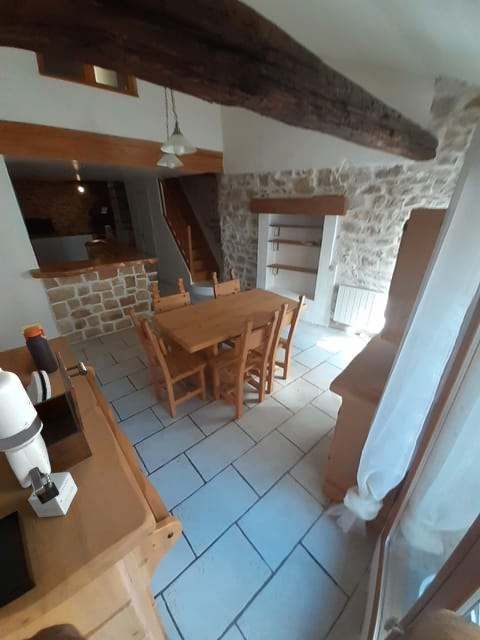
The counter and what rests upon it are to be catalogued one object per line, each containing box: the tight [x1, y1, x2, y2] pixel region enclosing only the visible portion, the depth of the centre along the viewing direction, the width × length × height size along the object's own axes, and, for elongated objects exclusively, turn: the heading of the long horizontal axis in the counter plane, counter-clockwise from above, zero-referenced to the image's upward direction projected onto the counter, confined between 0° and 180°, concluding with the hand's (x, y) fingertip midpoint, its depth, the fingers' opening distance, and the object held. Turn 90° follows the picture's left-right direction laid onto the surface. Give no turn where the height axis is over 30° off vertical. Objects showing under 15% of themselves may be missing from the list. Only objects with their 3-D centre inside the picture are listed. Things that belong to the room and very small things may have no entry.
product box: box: [27, 471, 78, 518], centre depth 60 cm, size 6×6×7 cm
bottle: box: [24, 326, 59, 375], centre depth 102 cm, size 7×7×20 cm
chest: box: [33, 391, 93, 476], centre depth 73 cm, size 14×21×10 cm, turn 42°
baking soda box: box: [20, 320, 47, 342], centre depth 112 cm, size 10×6×16 cm
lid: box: [54, 350, 88, 431], centre depth 73 cm, size 15×21×5 cm
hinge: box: [26, 371, 52, 405], centre depth 91 cm, size 17×5×10 cm, turn 43°
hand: (47, 481), depth 57 cm, fingers open, 9 cm apart
